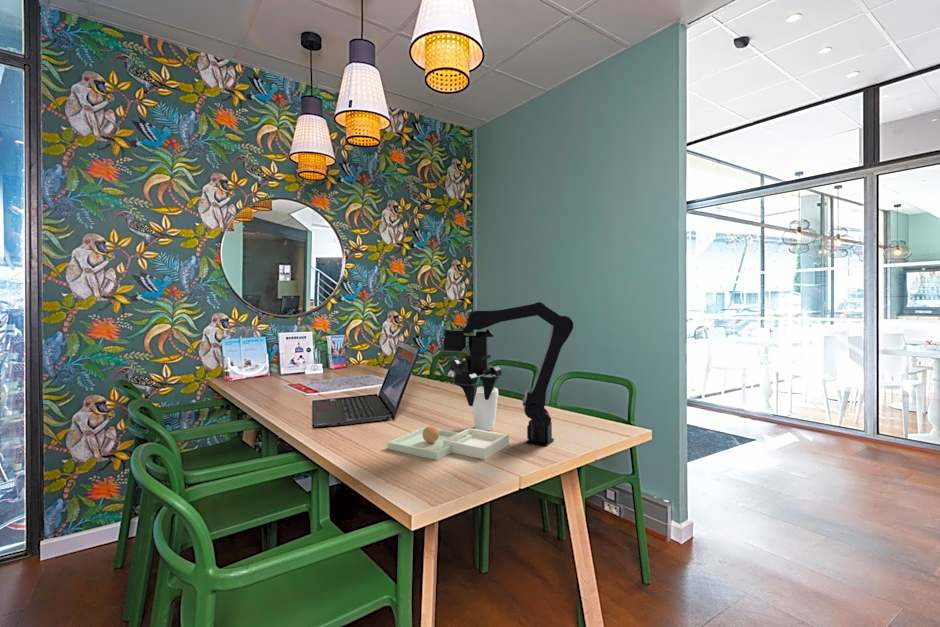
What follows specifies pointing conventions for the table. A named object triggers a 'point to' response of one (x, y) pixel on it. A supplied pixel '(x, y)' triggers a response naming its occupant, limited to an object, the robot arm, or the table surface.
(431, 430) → the ball
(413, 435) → the tray
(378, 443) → the table surface
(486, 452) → the white square open box
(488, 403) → the foam cup
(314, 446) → the table surface
